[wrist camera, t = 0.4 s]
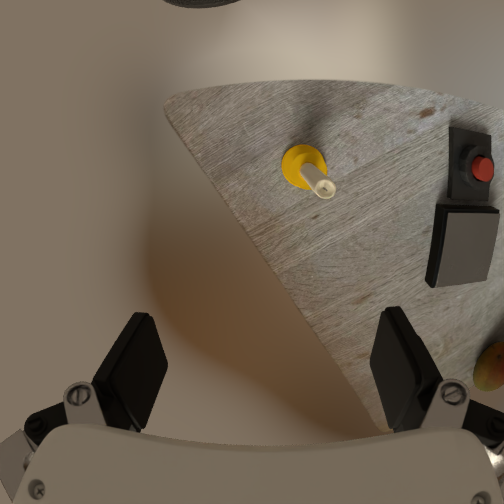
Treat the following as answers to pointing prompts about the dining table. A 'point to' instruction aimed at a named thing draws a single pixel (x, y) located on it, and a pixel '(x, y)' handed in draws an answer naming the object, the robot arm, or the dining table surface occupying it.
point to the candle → (307, 170)
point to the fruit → (490, 368)
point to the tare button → (482, 168)
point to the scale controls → (467, 164)
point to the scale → (461, 244)
